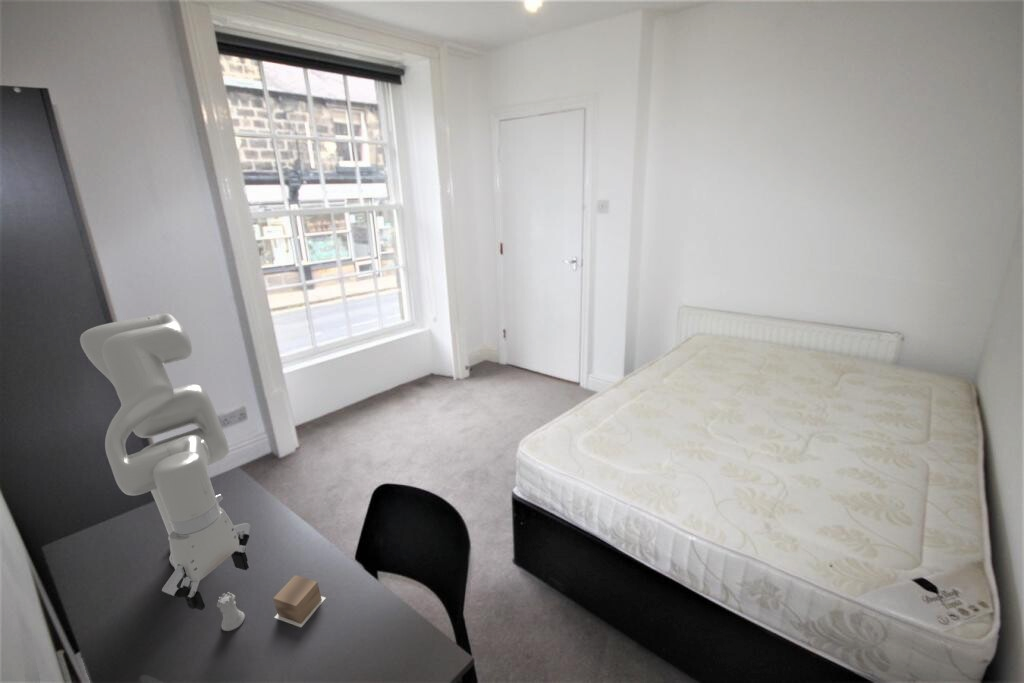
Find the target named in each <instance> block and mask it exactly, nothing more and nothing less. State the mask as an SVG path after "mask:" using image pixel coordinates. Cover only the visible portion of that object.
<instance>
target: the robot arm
mask: <svg viewBox="0 0 1024 683" xmlns="http://www.w3.org/2000/svg"><path fill="white" fill-rule="evenodd" d="M79 343H80V346H81V348H82V350H83V351H82V352H84V354H85V355H86V357H87V359H88V360H89V361H90V362H91V364H92V365H93V366H94V367H95V368H96V369H97V370H99V372H100V373H101V374H102V375H104V376H105V378H106V379H108V380H109V382H110V383H111V384H112V385H113V387H114V389H115V392H116V394H117V397H118V399H119V401H120V408H119V409H118V411H117V412H116V413H115V414H114V417H113V418H112V419H111V421H110V424H109V425H108V428H107V431H106V434H105V440H104V447H105V454H106V457H107V459H108V462H109V463H108V464H109V466H110V468H111V472H112V474H113V478H114V480H115V482H116V485H117V486H118V488H119V490H121V492H122V493H123V494H125V495H127V496H139V495H143V494H146V493H148V492H151V495H152V497H153V499H154V501H155V503H156V506H157V508H158V511H159V514H160V517H161V519H162V521H163V524H164V527H165V529H166V531H167V534H168V536H167V540H168V542H169V549H170V555H169V558H168V559H169V562H170V564H171V566H172V567H173V568H174V571H173V572H172V574H171V575H170V577H169V578H168V580H167V581H166V582H165V584H164V585H163V587H162V589H161V592H163V593H165V594H167V595H171V596H173V597H176V598H184V600H185V601H186V604H187V607H188V608H189V609H191V610H194V609H196V610H199V611H203V610H204V609H205V607H206V606H205V603H204V600H203V597H202V595H201V592H200V591H199V590H198V587H199V584H200V581H202V580H203V579H204V578H205V577H207V576H208V575H210V573H211V572H212V571H214V570H215V569H216V568H218V567H219V566H220V565H221V564H222V563H224V561H226V560H227V559H228V558H229V557H230V556H231V559H232V562H233V565H234V567H235V568H237V569H239V570H244V571H247V570H248V569H249V568H250V567H249V563H248V562H249V560H248V557H247V554H246V552H247V549H248V547H247V544H248V541H249V538H250V529H251V524H250V523H248V522H242V523H239V524H233V522H232V520H231V519H230V516H229V515H228V514H227V513H226V511H225V509H224V508H222V507H221V506H220V503H221V501H222V500H223V499H224V496H223V495H222V494H221V493H217V494H216V493H215V490H214V487H213V484H212V481H211V478H210V476H209V473H208V467H209V466H212V465H214V464H216V463H218V462H219V463H220V462H221V461H223V460H225V459H226V458H227V457H228V455H229V451H230V450H229V444H228V441H227V438H226V434H225V432H224V429H223V428H222V425H221V423H220V419H219V418H218V415H217V413H216V410H215V407H214V406H213V403H212V400H211V397H210V396H209V394H208V393H207V391H206V389H204V387H202V385H199V384H195V383H193V384H192V383H191V384H185V385H182V386H178V387H175V388H174V386H173V385H172V383H171V382H172V381H171V380H170V378H169V375H168V373H167V370H166V369H165V367H164V365H167V364H170V363H175V362H179V361H182V360H186V359H188V358H189V357H190V356H191V354H192V353H193V347H192V342H191V339H190V337H189V335H188V333H187V330H186V329H185V328H184V327H183V325H182V324H181V323H180V322H179V321H178V320H177V319H176V317H174V316H173V315H172V314H170V313H165V312H163V313H158V314H157V313H156V314H151V315H145V316H142V317H135V318H129V319H123V320H118V321H114V322H109V323H105V324H104V323H103V324H100V325H96V326H94V327H91V328H89V329H87V330H85V331H84V332H82V333H81V335H80V337H79ZM193 425H194V426H196V427H197V428H194V429H192V430H189V431H186V432H182V433H180V434H176V435H174V436H170V437H168V438H167V437H166V438H163V439H162V440H158V441H156V442H154V443H151V444H149V445H147V446H145V447H143V449H140V451H137V452H135V453H131V454H128V453H127V449H126V443H127V440H128V438H129V436H130V435H131V433H132V432H133V433H134V434H135V436H137V437H138V438H141V439H147V438H153V437H158V436H159V435H160V436H161V435H163V434H166V433H169V432H172V431H175V430H178V429H182V428H185V427H188V426H193ZM238 533H239V535H238ZM182 579H183V580H182ZM181 580H182V582H181V584H180V587H178V586H177V585H178V584H179V583H180V581H181Z"/></svg>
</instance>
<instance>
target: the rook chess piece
mask: <svg viewBox="0 0 1024 683" xmlns="http://www.w3.org/2000/svg"><path fill="white" fill-rule="evenodd" d="M235 599H236V595H235V594H233V593H231V592H230V591H228V592H226V593H222V594H221V596H218V599H217V603H216V607H217V608H218V609H219V611H220V612H221V613H222V621H221V624H220V625H221V630H223V631H224V632H230V631H234V630H236V629H237V628H239V627H240V626H241V625H242V624H243V622H244V621H245V619H246V615H245V613H244V612H243V611H241V610H240V609H238V607H237V606H236V604H237V601H236V600H235Z"/></svg>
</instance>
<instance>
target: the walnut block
mask: <svg viewBox="0 0 1024 683" xmlns="http://www.w3.org/2000/svg"><path fill="white" fill-rule="evenodd" d="M321 596H322V594H321V591H320V587H319V582H318V581H316V580H312V579H309V578H306V577H303V576H299V575H297V574H295V575H293V577H292V578H290V579H289V581H288V582H287V583H286V584H285V585H284V586H283V587H282V588H281V589H280V590H279V591H278V592H277V594H276V595H275V596H274V597H273V598H272V599H273V603H274V606H275V609H276V612H277V614H278V616H280V617H283V618H286V619H289V620H292V621H294V622H297V623H300V624H301V623H302V622H303V621H304V620H305V619H306V617H307V616H308V615H309V614H310V613H311V611H312V610H313V609H314V608H315V607H316V606H317V604H318V603H319V602H320V601H321V600H322V598H321Z"/></svg>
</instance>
